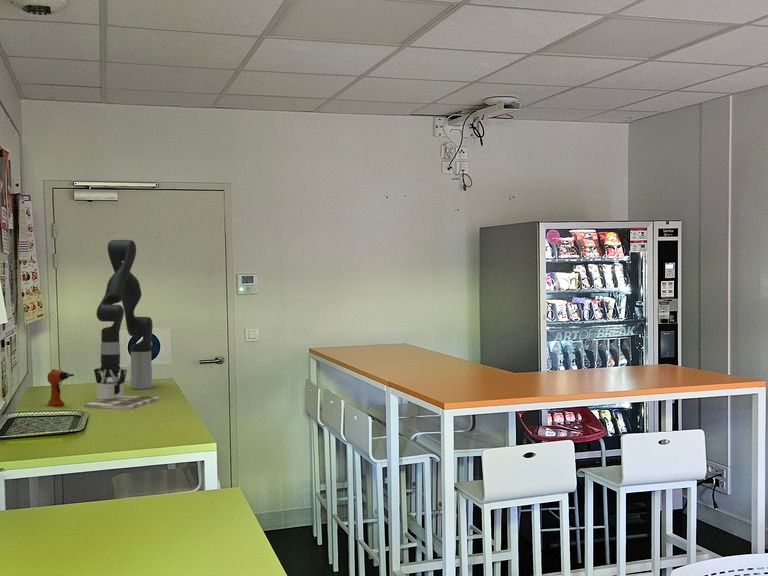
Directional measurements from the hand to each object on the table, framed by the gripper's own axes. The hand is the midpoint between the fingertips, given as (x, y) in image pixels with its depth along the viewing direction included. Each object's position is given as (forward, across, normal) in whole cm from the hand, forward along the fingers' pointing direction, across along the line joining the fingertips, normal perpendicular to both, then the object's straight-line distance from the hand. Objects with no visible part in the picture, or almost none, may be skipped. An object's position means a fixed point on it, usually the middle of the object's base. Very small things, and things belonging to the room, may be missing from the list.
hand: (110, 393), depth 320 cm
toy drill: (+4, +14, +12) cm, 19 cm away
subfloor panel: (+4, -6, 0) cm, 7 cm away
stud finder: (+1, 0, 0) cm, 1 cm away
